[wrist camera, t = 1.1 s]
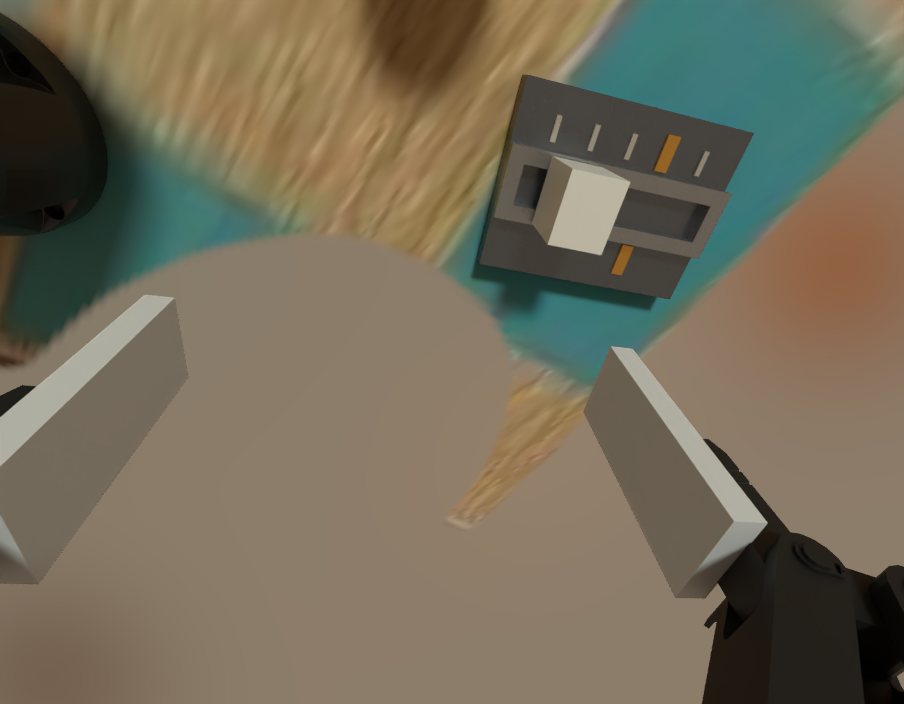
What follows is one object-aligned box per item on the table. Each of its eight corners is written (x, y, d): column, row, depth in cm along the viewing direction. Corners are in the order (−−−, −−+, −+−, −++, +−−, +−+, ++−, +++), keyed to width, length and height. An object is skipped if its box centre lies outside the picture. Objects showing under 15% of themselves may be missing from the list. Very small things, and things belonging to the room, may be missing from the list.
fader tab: (528, 218, 36) (547, 244, 31) (548, 153, 34) (572, 168, 28) (574, 228, 37) (601, 255, 31) (597, 164, 34) (630, 181, 29)
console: (476, 255, 40) (480, 268, 37) (522, 74, 33) (530, 74, 30) (659, 290, 43) (674, 304, 40) (738, 130, 35) (762, 134, 33)
